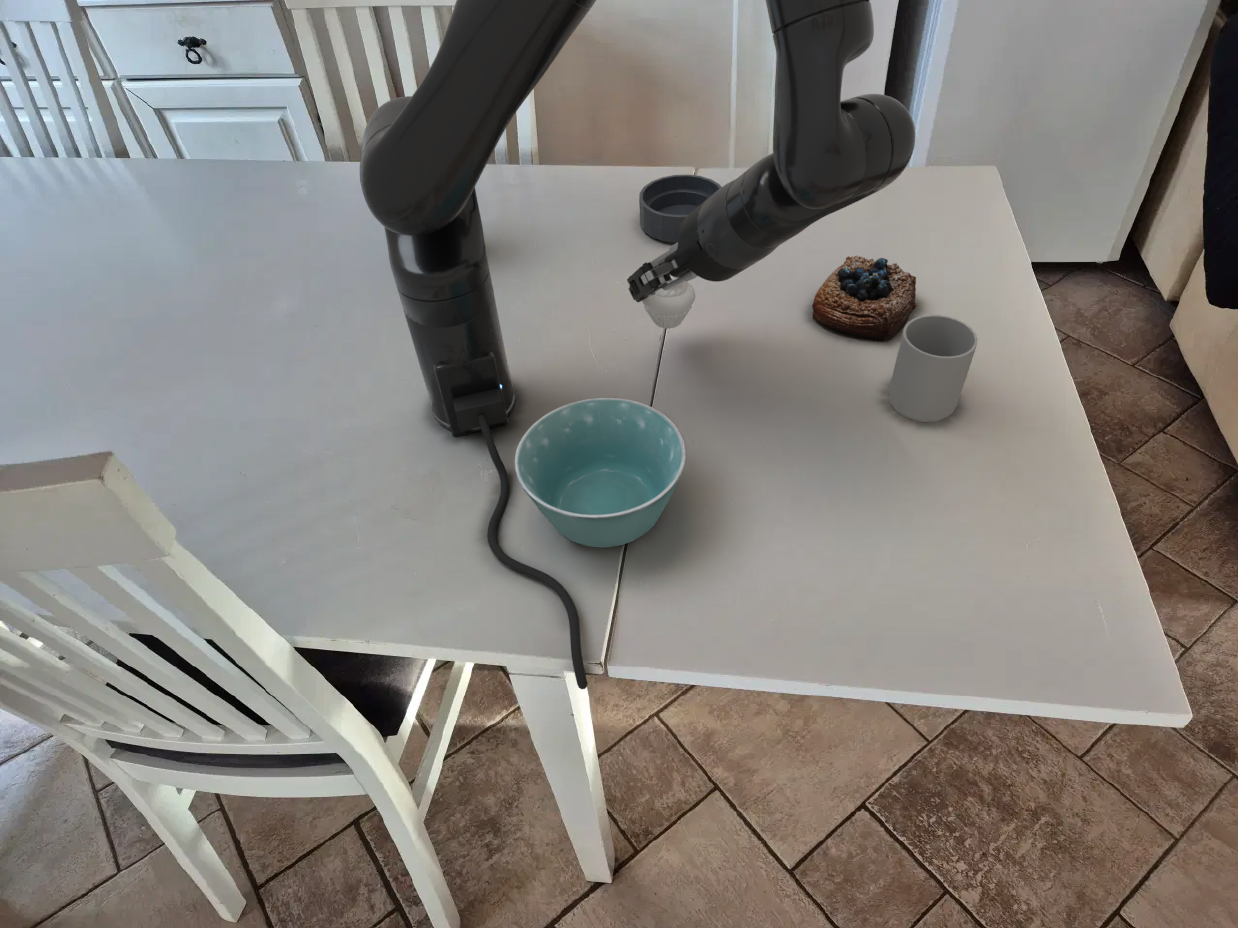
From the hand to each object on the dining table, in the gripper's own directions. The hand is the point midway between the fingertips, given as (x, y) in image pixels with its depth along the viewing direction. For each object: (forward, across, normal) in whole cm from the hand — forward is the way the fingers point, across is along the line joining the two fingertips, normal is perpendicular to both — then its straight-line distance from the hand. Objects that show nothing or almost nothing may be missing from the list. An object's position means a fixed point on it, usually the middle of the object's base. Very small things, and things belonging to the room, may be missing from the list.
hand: (658, 282), depth 92 cm
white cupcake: (+2, 0, +4) cm, 5 cm away
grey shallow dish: (+20, -20, -8) cm, 30 cm away
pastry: (-2, -24, +14) cm, 27 cm away
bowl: (-6, +20, +19) cm, 28 cm away
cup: (-12, -17, +24) cm, 32 cm away
